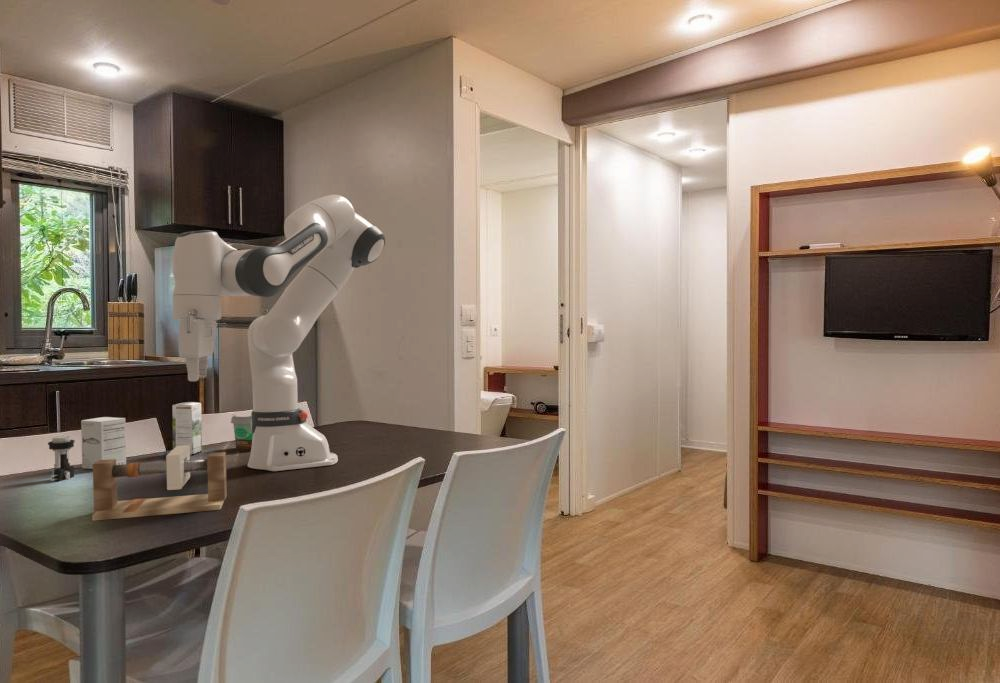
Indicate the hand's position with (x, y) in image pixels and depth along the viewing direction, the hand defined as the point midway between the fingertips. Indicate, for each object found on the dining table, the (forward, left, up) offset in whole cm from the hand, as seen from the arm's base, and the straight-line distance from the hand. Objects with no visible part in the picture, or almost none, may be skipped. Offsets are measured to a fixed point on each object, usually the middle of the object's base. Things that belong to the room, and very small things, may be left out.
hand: (197, 379), depth 133 cm
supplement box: (+30, -49, -25) cm, 63 cm away
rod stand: (+7, +1, -25) cm, 26 cm away
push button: (+36, -36, -25) cm, 57 cm away
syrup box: (+12, -61, -25) cm, 67 cm away
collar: (+4, +1, -21) cm, 21 cm away
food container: (-4, -62, -25) cm, 67 cm away
